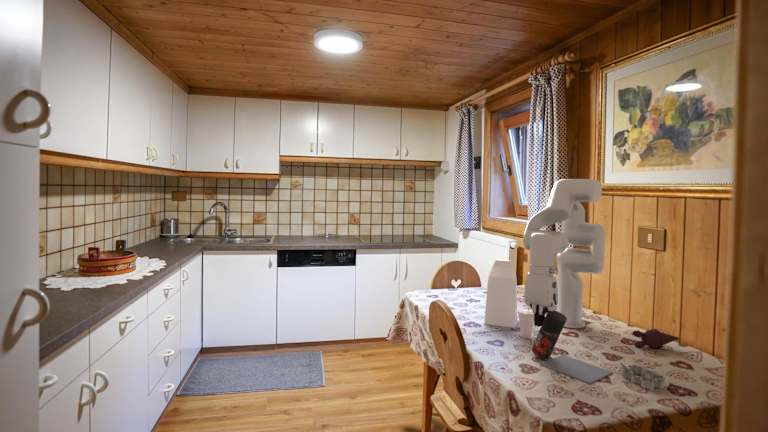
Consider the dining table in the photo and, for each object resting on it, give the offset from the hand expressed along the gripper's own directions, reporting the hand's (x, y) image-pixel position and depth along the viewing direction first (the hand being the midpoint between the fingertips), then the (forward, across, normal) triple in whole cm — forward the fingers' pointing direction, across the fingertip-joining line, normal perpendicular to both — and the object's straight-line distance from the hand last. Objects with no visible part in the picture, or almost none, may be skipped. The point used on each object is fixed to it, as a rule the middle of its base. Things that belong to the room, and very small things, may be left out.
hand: (539, 325), depth 136 cm
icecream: (+10, -18, -42) cm, 47 cm away
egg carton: (+11, -28, -9) cm, 31 cm away
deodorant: (+9, -1, 0) cm, 9 cm away
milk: (+10, +30, -19) cm, 37 cm away
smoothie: (+10, +13, -12) cm, 21 cm away
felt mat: (+10, -13, -1) cm, 16 cm away
